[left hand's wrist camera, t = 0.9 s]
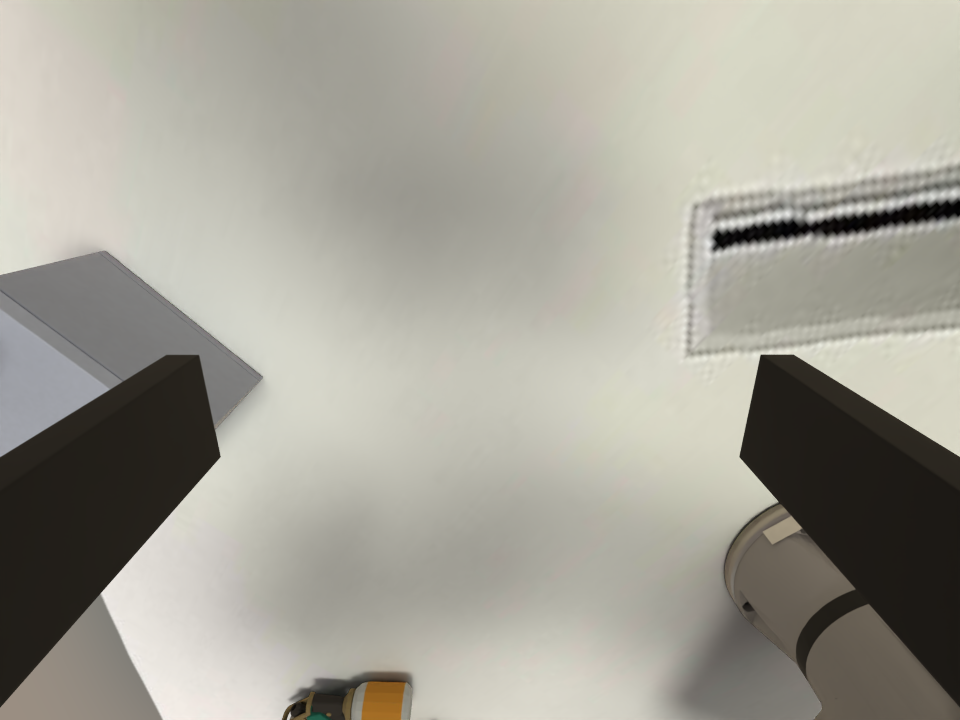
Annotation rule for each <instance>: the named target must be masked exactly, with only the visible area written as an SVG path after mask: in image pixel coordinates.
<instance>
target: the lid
mask: <svg viewBox="0 0 960 720" xmlns="http://www.w3.org/2000/svg"><path fill="white" fill-rule="evenodd" d="M121 382H123V381H122V380H120V379H119V378H117V377H116V376H115V375H113V374H112V373H111V372H109V371H108V370H107V369H105V368H104V367H103V366H101V365H100V364H98V363H97V362H96V361H94V360H93V359H92V358H90V357H89V356H88V355H86V354H85V353H84V352H82V351H81V350H79V349H78V348H77V347H75V346H74V345H73V344H71V343H70V342H69V341H67V340H66V339H65V338H63V337H62V336H60V335H59V334H58V333H56V332H55V331H54V330H52V329H51V328H50V327H48V326H47V325H46V324H44V323H43V322H41V321H40V320H39V319H37V318H36V317H35V316H33V315H32V314H31V313H29V312H28V311H27V310H25V309H24V308H22V307H21V306H20V305H18V304H17V303H16V302H14V301H13V300H12V299H10V298H9V297H8V296H6V295H5V294H3V293H2V292H1V291H0V457H1V456H3V455H4V454H6V453H8V452H9V451H11V450H12V449H14V448H16V447H17V446H19V445H21V444H22V443H24V442H25V441H27V440H29V439H30V438H32V437H34V436H35V435H37V434H38V433H40V432H42V431H43V430H45V429H47V428H48V427H50V426H51V425H53V424H55V423H56V422H58V421H60V420H61V419H63V418H64V417H66V416H68V415H69V414H71V413H73V412H74V411H76V410H77V409H79V408H81V407H82V406H84V405H86V404H87V403H89V402H90V401H92V400H94V399H95V398H97V397H99V396H100V395H102V394H103V393H105V392H107V391H108V390H110V389H112V388H113V387H115V386H116V385H118V384H120V383H121Z"/></svg>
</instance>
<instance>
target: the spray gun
mask: <svg viewBox="0 0 960 720" xmlns="http://www.w3.org/2000/svg"><path fill="white" fill-rule="evenodd" d="M411 705H412V688H411V687H410V685H409V684H408V683H407V682H365V683H362V684H361V685H360V686H359V687H358V688H357V689H355V688H351V689H350V690H349V692H348V694H347V695H346V696H345V697H341V696H335V695H325V694H316V693H315V692H310V695H309V697H307V698H305V699H303V700H300V701H298V702H296V703H294V704H292V705H290V706H289V707H288V708H287V709H286V710H285V712H284V715H283V718H282V720H287V717H288V714H289V712H291V718H290V720H410V715H411Z"/></svg>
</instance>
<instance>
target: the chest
mask: <svg viewBox="0 0 960 720" xmlns="http://www.w3.org/2000/svg"><path fill="white" fill-rule="evenodd" d="M0 291H1V292H2V293H3V294H5V295H6V296H8V297H9V298H10V299H12V300H13V301H14V302H16V303H17V304H18V305H20V306H21V307H22V308H24V309H25V310H27V311H28V312H29V313H31V314H32V315H33V316H35V317H36V318H37V319H39V320H40V321H41V322H43V323H44V324H46V325H47V326H48V327H50V328H51V329H52V330H54V331H55V332H56V333H58V334H59V335H60V336H62V337H63V338H65V339H66V340H67V341H69V342H70V343H71V344H73V345H74V346H75V347H77V348H78V349H79V350H81V351H82V352H84V353H85V354H86V355H88V356H89V357H90V358H92V359H93V360H94V361H96V362H97V363H98V364H100V365H101V366H103V367H104V368H105V369H107V370H108V371H109V372H111V373H112V374H113V375H115V376H116V377H117V378H119V379H120V380H122V381H125V380H126V379H128V378H129V377H131V376H133V375H134V374H136V373H138V372H139V371H141V370H143V369H144V368H146V367H147V366H149V365H151V364H152V363H154V362H156V361H157V360H159V359H160V358H162V357H164V356H165V355H199V356H200V361H201V366H202V370H203V375H204V380H205V385H206V390H207V394H208V399H209V404H210V409H211V413H212V418H213V423H214V428H215V429H216V428H217V427H218V426H219V425H220V424H221V423H222V422H223V421H224V419H225V418H226V417H227V416H228V415H229V414H230V413H231V412H232V411H233V410H234V409H235V407H236V406H237V405H238V404H239V403H240V402H241V401H242V400H243V399H244V398H245V397H246V396H247V394H248V393H249V392H250V391H251V390H252V389H253V388H254V387H255V386H256V385H257V384H258V383H259V381H260V380H261V379H262V378H263V377H262V376H260V375H259V374H258V373H257V372H255V371H254V370H253V369H252V368H250V367H249V366H248V365H247V364H245V363H244V362H243V361H242V360H240V359H239V358H238V357H237V356H235V355H234V354H233V353H232V352H230V351H229V350H228V349H227V348H225V347H224V346H223V345H222V344H220V343H219V342H218V341H217V340H215V339H214V338H213V337H212V336H211V335H209V334H208V333H207V332H206V331H204V330H203V329H202V328H201V327H199V326H198V325H197V324H196V323H194V322H193V321H192V320H191V319H189V318H188V317H187V316H186V315H184V314H183V313H182V312H181V311H179V310H178V309H177V308H176V307H174V306H173V305H172V304H171V303H169V302H168V301H167V300H166V299H164V298H163V297H162V296H161V295H159V294H158V293H157V292H156V291H154V290H153V289H152V288H151V287H149V286H148V285H147V284H146V283H144V282H143V281H142V280H141V279H139V278H138V277H137V276H136V275H134V274H133V273H132V272H131V271H129V270H128V269H127V268H126V267H124V266H123V265H122V264H121V263H119V262H118V261H117V260H116V259H114V258H113V257H112V256H111V255H109V254H108V253H107V252H106V251H102V252H98V253H93V254H89V255H84V256H80V257H76V258H72V259H67V260H63V261H59V262H54V263H50V264H46V265H42V266H37V267H33V268H29V269H25V270H20V271H16V272H12V273H8V274H3V275H0Z"/></svg>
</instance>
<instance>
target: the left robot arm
mask: <svg viewBox="0 0 960 720" xmlns="http://www.w3.org/2000/svg"><path fill="white" fill-rule="evenodd" d="M220 457H221V456H220V452H219V447H218V442H217V437H216V433H215V428H214V423H213V418H212V413H211V409H210V404H209V399H208V394H207V390H206V385H205V380H204V375H203V370H202V366H201V361H200V356H199V355H165V356H164V357H162V358H160V359H159V360H157V361H156V362H154V363H152V364H151V365H149V366H147V367H146V368H144V369H143V370H141V371H139V372H138V373H136V374H134V375H133V376H131V377H129V378H128V379H126V380H125V381H123V382H121V383H120V384H118V385H116V386H115V387H113V388H112V389H110V390H108V391H107V392H105V393H103V394H102V395H100V396H99V397H97V398H95V399H94V400H92V401H90V402H89V403H87V404H86V405H84V406H82V407H81V408H79V409H77V410H76V411H74V412H73V413H71V414H69V415H68V416H66V417H64V418H63V419H61V420H60V421H58V422H56V423H55V424H53V425H51V426H50V427H48V428H47V429H45V430H43V431H42V432H40V433H38V434H37V435H35V436H34V437H32V438H30V439H29V440H27V441H25V442H24V443H22V444H21V445H19V446H17V447H16V448H14V449H12V450H11V451H9V452H8V453H6V454H4V455H3V456H1V457H0V707H1V706H2V705H3V704H4V703H5V701H6V700H7V699H8V698H9V697H10V696H11V695H12V693H13V692H14V691H15V690H16V689H17V688H18V687H19V686H20V684H21V683H22V682H23V681H24V680H25V679H26V678H27V676H28V675H29V674H30V673H31V672H32V671H33V670H34V668H35V667H36V666H37V665H38V664H39V663H40V662H41V660H42V659H43V658H44V657H45V656H46V655H47V654H48V653H49V651H50V650H51V649H52V648H53V647H54V646H55V645H56V643H57V642H58V641H59V640H60V639H61V638H62V637H63V635H64V634H65V633H66V632H67V631H68V630H69V629H70V628H71V626H72V625H73V624H74V623H75V622H76V621H77V620H78V618H79V617H80V616H81V615H82V614H83V613H84V612H85V610H86V609H87V608H88V607H89V606H90V605H91V604H92V602H93V601H94V600H95V599H96V598H97V597H98V596H99V595H100V593H101V592H102V591H103V590H104V589H105V588H106V587H107V585H108V584H109V583H110V582H111V581H112V580H113V579H114V578H115V576H116V575H117V574H118V573H119V572H120V571H121V570H122V568H123V567H124V566H125V565H126V564H127V563H128V562H129V560H130V559H131V558H132V557H133V556H134V555H135V554H136V552H137V551H138V550H139V549H140V548H141V547H142V546H143V545H144V543H145V542H146V541H147V540H148V539H149V538H150V537H151V535H152V534H153V533H154V532H155V531H156V530H157V529H158V527H159V526H160V525H161V524H162V523H163V522H164V521H165V520H166V518H167V517H168V516H169V515H170V514H171V513H172V512H173V510H174V509H175V508H176V507H177V506H178V505H179V504H180V502H181V501H182V500H183V499H184V498H185V497H186V496H187V494H188V493H189V492H190V491H191V490H192V489H193V488H194V487H195V485H196V484H197V483H198V482H199V481H200V480H201V479H202V477H203V476H204V475H205V474H206V473H207V472H208V471H209V469H210V468H211V467H212V466H213V465H214V464H215V463H216V462H217V460H218V459H219V458H220ZM739 457H740V458H741V459H742V460H743V462H744V463H745V464H746V465H747V466H748V467H749V468H750V469H751V471H752V472H753V473H754V474H755V475H756V476H757V477H758V479H759V480H760V481H761V482H762V483H763V484H764V485H765V487H766V488H767V489H768V490H769V491H770V492H771V493H772V494H773V496H774V497H775V498H776V499H777V500H778V501H779V502H780V504H781V505H782V506H783V507H784V508H785V509H786V510H787V512H788V513H789V514H790V515H791V516H792V517H793V518H794V520H795V521H796V522H797V523H798V524H799V525H800V526H801V527H802V529H803V530H804V531H805V532H806V533H807V534H808V535H809V537H810V538H811V539H812V540H813V541H814V542H815V543H816V545H817V546H818V547H819V548H820V549H821V550H822V551H823V552H824V554H825V555H826V556H827V557H828V558H829V559H830V560H831V562H832V563H833V564H834V565H835V566H836V567H837V568H838V570H839V571H840V572H841V573H842V574H843V575H844V576H845V578H846V579H847V580H848V581H849V582H850V583H851V584H852V585H853V587H854V588H855V589H856V590H857V591H858V592H859V593H860V595H861V596H862V597H863V598H864V599H865V600H866V601H867V603H868V604H869V605H870V606H871V607H872V608H873V609H874V610H875V612H876V613H877V614H878V615H879V616H880V617H881V618H882V620H883V621H884V622H885V623H886V624H887V625H888V626H889V628H890V629H891V630H892V631H893V632H894V633H895V634H896V635H897V637H898V638H899V639H900V640H901V641H902V642H903V643H904V645H905V646H906V647H907V648H908V649H909V650H910V651H911V653H912V654H913V655H914V656H915V657H916V658H917V659H918V661H919V662H920V663H921V664H922V665H923V666H924V667H925V668H926V670H927V671H928V672H929V673H930V674H931V675H932V676H933V678H934V679H935V680H936V681H937V682H938V683H939V684H940V686H941V687H942V688H943V689H944V690H945V691H946V692H947V693H948V695H949V696H950V697H951V698H952V699H953V700H954V701H955V703H956V704H957V705H958V706H959V707H960V457H959V456H957V455H956V454H954V453H952V452H951V451H949V450H948V449H946V448H944V447H943V446H941V445H939V444H938V443H936V442H935V441H933V440H931V439H930V438H928V437H926V436H925V435H923V434H922V433H920V432H918V431H917V430H915V429H913V428H912V427H910V426H909V425H907V424H905V423H904V422H902V421H900V420H899V419H897V418H896V417H894V416H892V415H891V414H889V413H887V412H886V411H884V410H883V409H881V408H879V407H878V406H876V405H874V404H873V403H871V402H870V401H868V400H866V399H865V398H863V397H861V396H860V395H858V394H857V393H855V392H853V391H852V390H850V389H848V388H847V387H845V386H844V385H842V384H840V383H839V382H837V381H835V380H834V379H832V378H830V377H829V376H827V375H826V374H824V373H822V372H821V371H819V370H817V369H816V368H814V367H813V366H811V365H809V364H808V363H806V362H804V361H803V360H801V359H800V358H798V357H796V356H795V355H761V356H760V361H759V366H758V370H757V375H756V380H755V385H754V390H753V394H752V399H751V404H750V409H749V413H748V418H747V423H746V428H745V433H744V437H743V442H742V447H741V452H740V456H739Z"/></svg>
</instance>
